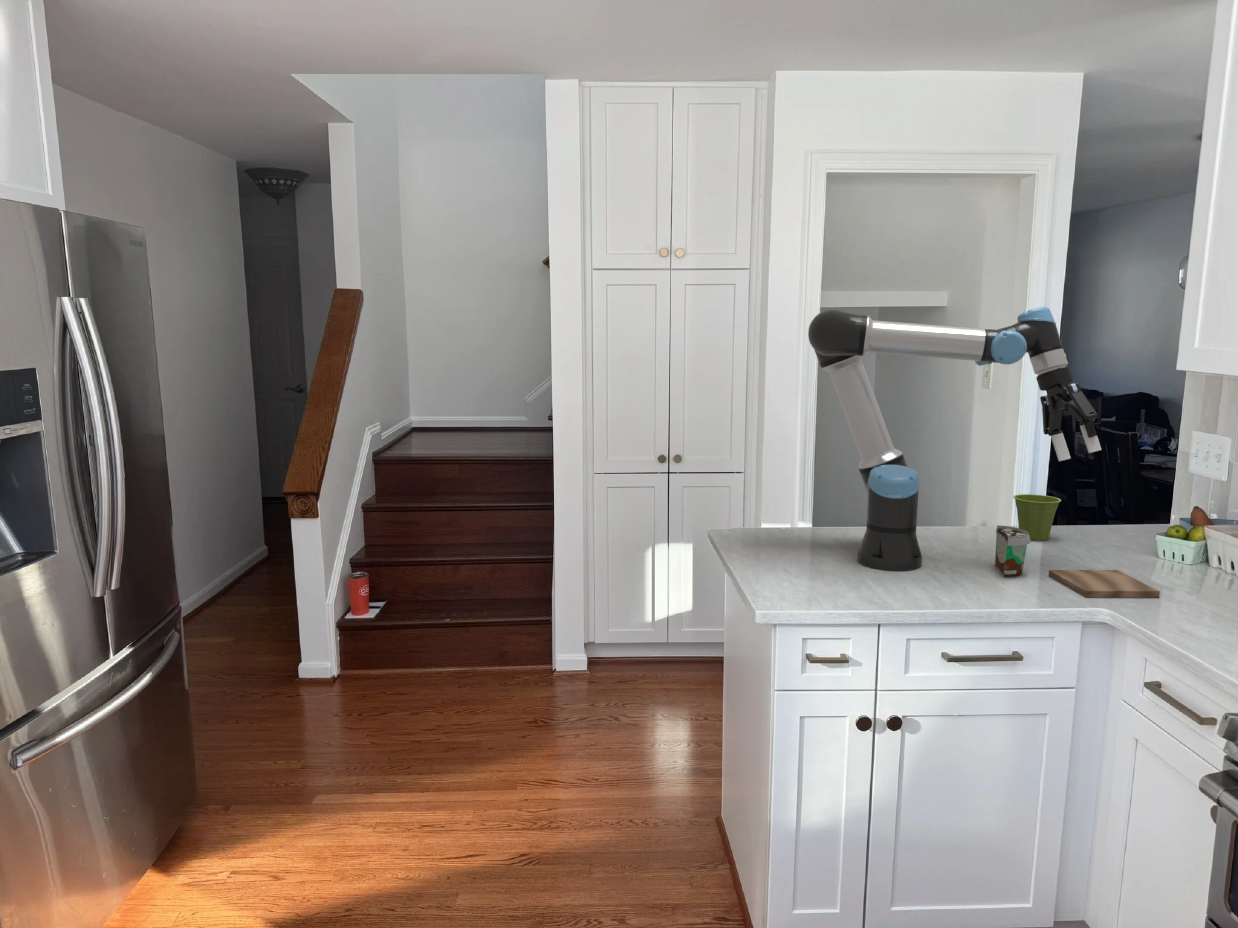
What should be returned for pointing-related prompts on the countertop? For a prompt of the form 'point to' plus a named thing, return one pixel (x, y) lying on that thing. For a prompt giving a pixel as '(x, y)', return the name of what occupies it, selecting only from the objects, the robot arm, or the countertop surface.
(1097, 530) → the countertop surface
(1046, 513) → the plant pot
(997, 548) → the food container
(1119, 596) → the walnut board
